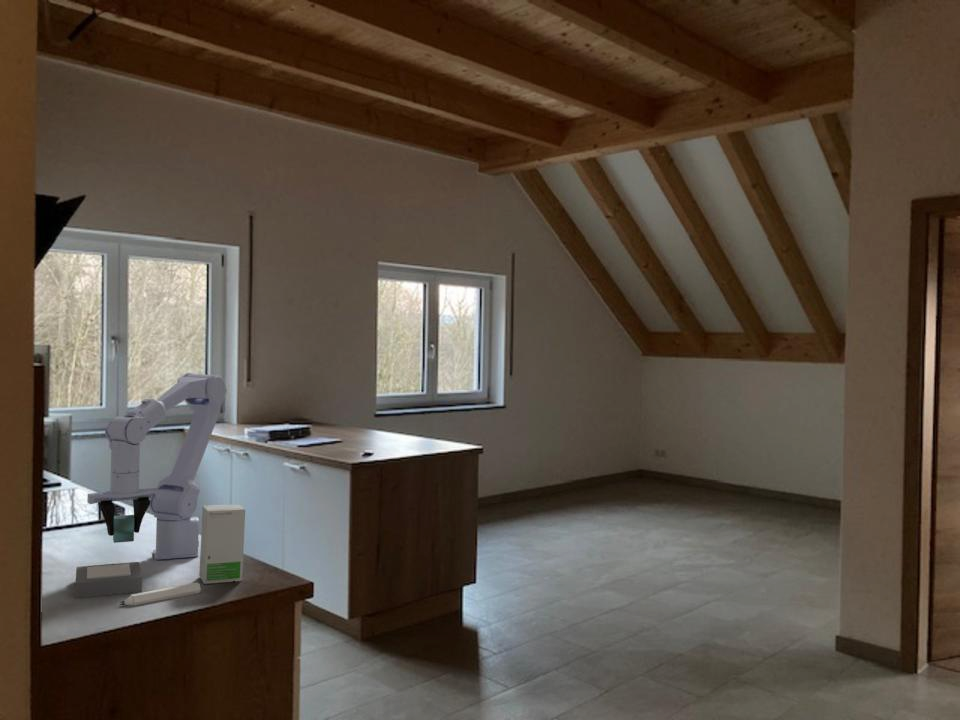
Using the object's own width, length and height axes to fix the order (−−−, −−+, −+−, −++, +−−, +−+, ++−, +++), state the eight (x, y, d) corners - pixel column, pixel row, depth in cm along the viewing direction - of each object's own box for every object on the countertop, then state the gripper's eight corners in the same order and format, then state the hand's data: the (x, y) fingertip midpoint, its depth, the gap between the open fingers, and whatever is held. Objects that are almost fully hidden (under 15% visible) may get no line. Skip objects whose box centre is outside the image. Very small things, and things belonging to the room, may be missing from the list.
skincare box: (203, 585, 167) (205, 511, 167) (198, 576, 173) (200, 505, 173) (244, 581, 171) (246, 508, 171) (238, 572, 177) (240, 502, 177)
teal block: (132, 537, 178) (133, 514, 178) (133, 541, 174) (134, 518, 174) (113, 538, 176) (113, 515, 176) (113, 542, 173) (114, 519, 173)
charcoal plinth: (138, 575, 172) (138, 560, 172) (141, 591, 161) (142, 575, 161) (76, 581, 167) (76, 565, 167) (75, 598, 156) (75, 581, 156)
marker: (116, 612, 152) (197, 595, 163) (119, 609, 151) (201, 592, 162) (113, 599, 153) (194, 583, 164) (117, 596, 152) (198, 580, 163)
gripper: (154, 466, 183) (152, 525, 183) (84, 471, 174) (83, 533, 174) (163, 471, 177) (161, 532, 177) (92, 476, 168) (90, 540, 168)
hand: (123, 533), depth 175 cm, fingers closed on teal block, 5 cm apart
